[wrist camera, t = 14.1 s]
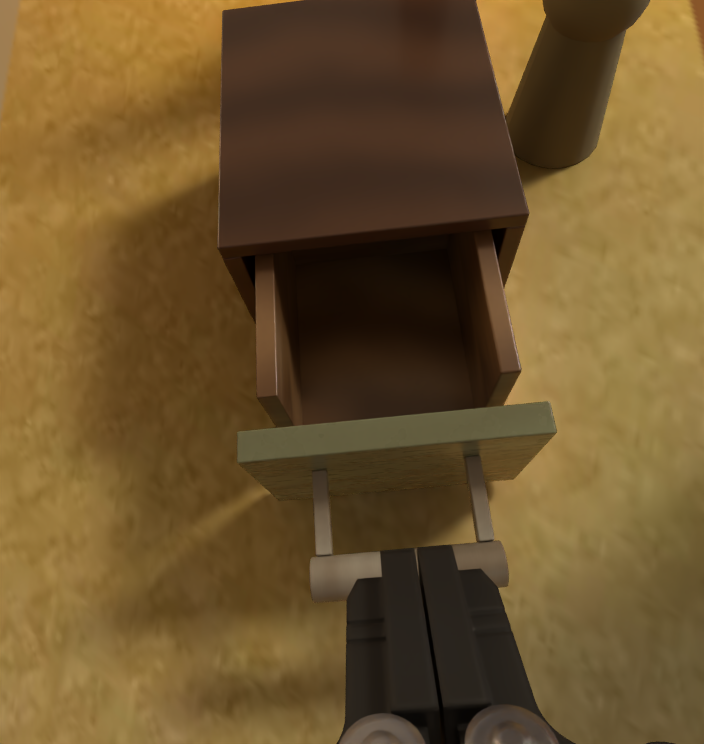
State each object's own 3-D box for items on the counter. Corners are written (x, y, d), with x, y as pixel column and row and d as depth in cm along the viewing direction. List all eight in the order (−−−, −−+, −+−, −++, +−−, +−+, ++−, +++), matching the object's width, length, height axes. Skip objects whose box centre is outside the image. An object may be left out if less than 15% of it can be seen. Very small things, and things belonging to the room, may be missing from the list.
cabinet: (492, 326, 31) (530, 213, 22) (267, 349, 31) (216, 248, 23) (452, 129, 37) (470, -22, 28) (263, 151, 37) (221, 9, 28)
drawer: (535, 586, 25) (591, 578, 18) (281, 608, 25) (235, 608, 18) (469, 245, 32) (490, 141, 25) (272, 267, 32) (237, 170, 25)
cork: (600, 101, 37) (678, -92, 26) (597, 172, 34) (681, -8, 24) (507, 93, 37) (548, -96, 27) (498, 163, 35) (539, -16, 25)
